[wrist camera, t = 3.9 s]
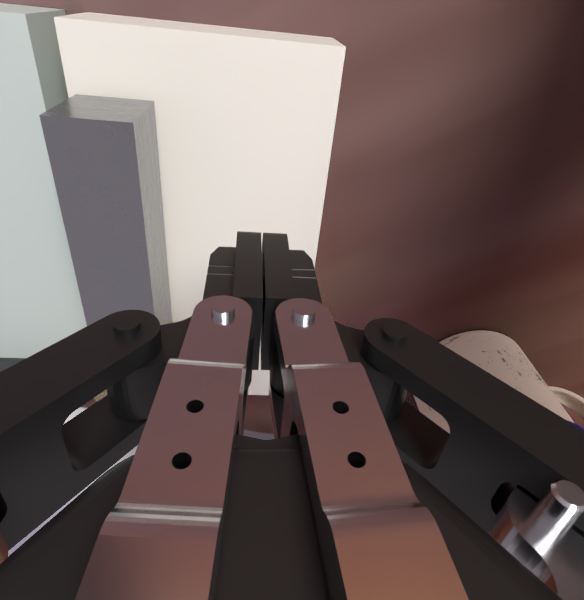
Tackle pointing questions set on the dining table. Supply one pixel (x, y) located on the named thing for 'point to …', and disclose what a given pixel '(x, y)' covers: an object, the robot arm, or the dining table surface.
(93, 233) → the bar
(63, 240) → the door leaf
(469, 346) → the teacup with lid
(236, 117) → the jamb block
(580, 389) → the dining table surface
